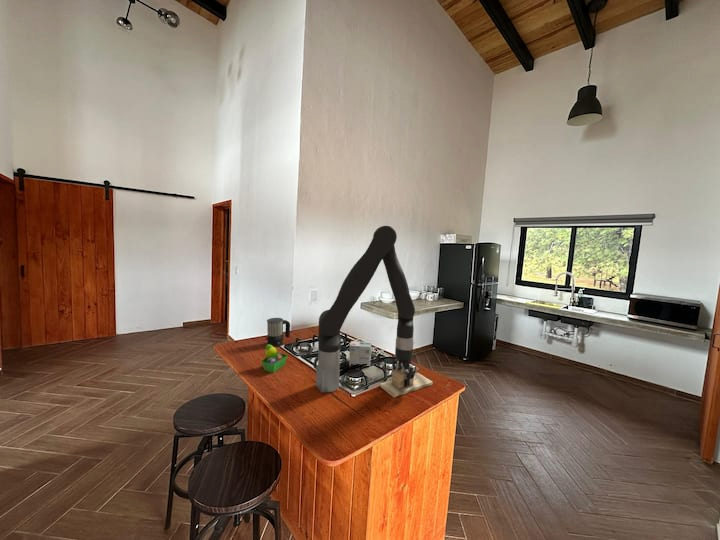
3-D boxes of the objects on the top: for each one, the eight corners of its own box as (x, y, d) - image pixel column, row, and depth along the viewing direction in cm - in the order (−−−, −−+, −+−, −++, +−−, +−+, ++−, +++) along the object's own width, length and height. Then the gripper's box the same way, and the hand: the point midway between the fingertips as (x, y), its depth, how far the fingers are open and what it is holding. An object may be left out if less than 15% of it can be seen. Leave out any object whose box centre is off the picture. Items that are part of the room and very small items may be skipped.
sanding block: (398, 389, 122) (399, 375, 121) (391, 383, 126) (392, 370, 126) (413, 384, 126) (413, 371, 125) (405, 379, 130) (406, 367, 130)
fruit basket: (273, 374, 134) (273, 351, 132) (258, 370, 137) (258, 347, 135) (288, 364, 144) (288, 342, 143) (273, 361, 147) (273, 339, 146)
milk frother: (274, 348, 163) (274, 323, 161) (255, 342, 171) (255, 318, 169) (292, 341, 175) (292, 317, 173) (274, 335, 183) (274, 313, 182)
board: (393, 397, 118) (394, 394, 118) (379, 386, 126) (379, 383, 126) (432, 384, 130) (432, 381, 129) (417, 374, 138) (417, 372, 138)
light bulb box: (370, 361, 151) (371, 341, 149) (369, 367, 144) (370, 346, 143) (350, 360, 152) (351, 340, 150) (348, 365, 145) (349, 345, 144)
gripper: (387, 342, 128) (385, 378, 130) (408, 353, 116) (406, 393, 118) (400, 339, 132) (398, 374, 134) (422, 350, 120) (420, 389, 122)
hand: (402, 383), depth 126 cm, fingers closed on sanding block, 5 cm apart
